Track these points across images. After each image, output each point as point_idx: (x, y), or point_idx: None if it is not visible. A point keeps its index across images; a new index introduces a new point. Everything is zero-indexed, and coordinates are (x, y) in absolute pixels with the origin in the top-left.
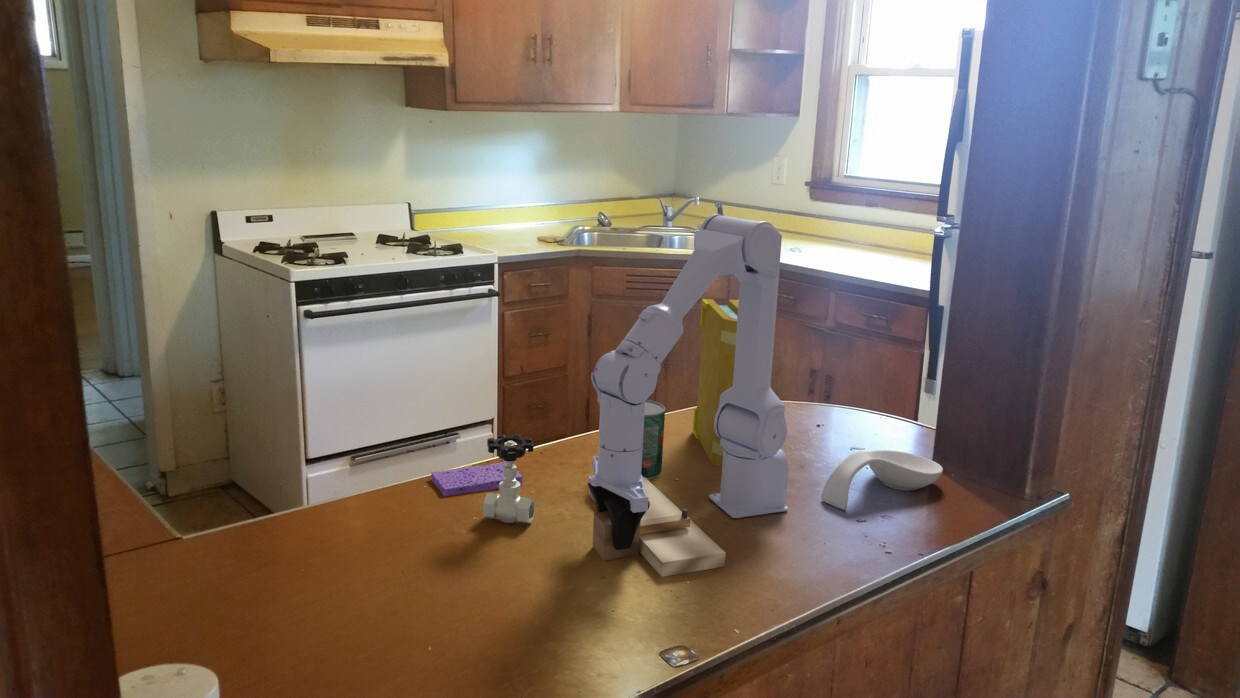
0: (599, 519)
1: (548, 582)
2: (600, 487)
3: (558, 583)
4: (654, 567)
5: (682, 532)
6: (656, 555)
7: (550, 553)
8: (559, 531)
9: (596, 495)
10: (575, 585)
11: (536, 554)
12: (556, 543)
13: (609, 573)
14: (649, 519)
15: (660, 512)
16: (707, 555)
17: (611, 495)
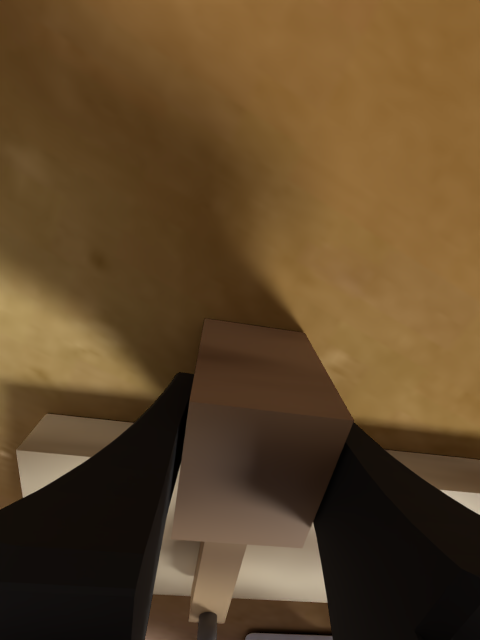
0: (272, 409)
1: (130, 10)
2: (443, 625)
3: (107, 56)
4: (98, 421)
5: (185, 561)
6: (72, 455)
7: (351, 170)
8: (466, 290)
9: (411, 530)
10: (69, 124)
11: (379, 105)
12: (402, 235)
13: (117, 293)
14: (241, 547)
15: (320, 567)
16: None
17: (364, 582)
